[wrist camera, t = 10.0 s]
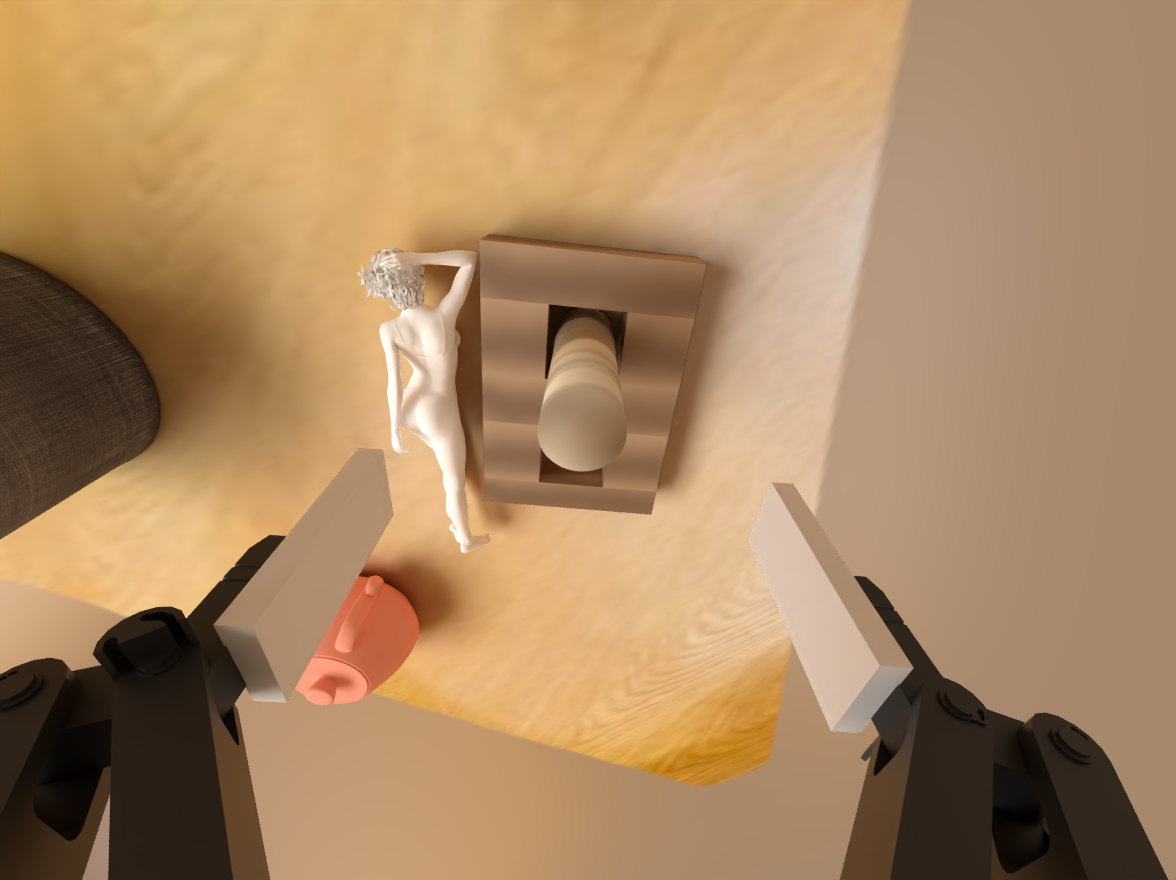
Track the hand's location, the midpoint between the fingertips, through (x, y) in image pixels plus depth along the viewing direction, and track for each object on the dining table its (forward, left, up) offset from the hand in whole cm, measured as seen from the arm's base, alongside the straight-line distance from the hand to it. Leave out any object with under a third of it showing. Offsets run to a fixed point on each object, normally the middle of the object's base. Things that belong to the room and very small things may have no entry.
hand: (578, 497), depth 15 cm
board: (+4, 0, -20) cm, 20 cm away
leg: (0, 0, -20) cm, 20 cm away
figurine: (+8, -10, -20) cm, 24 cm away
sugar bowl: (+31, -20, -20) cm, 42 cm away
